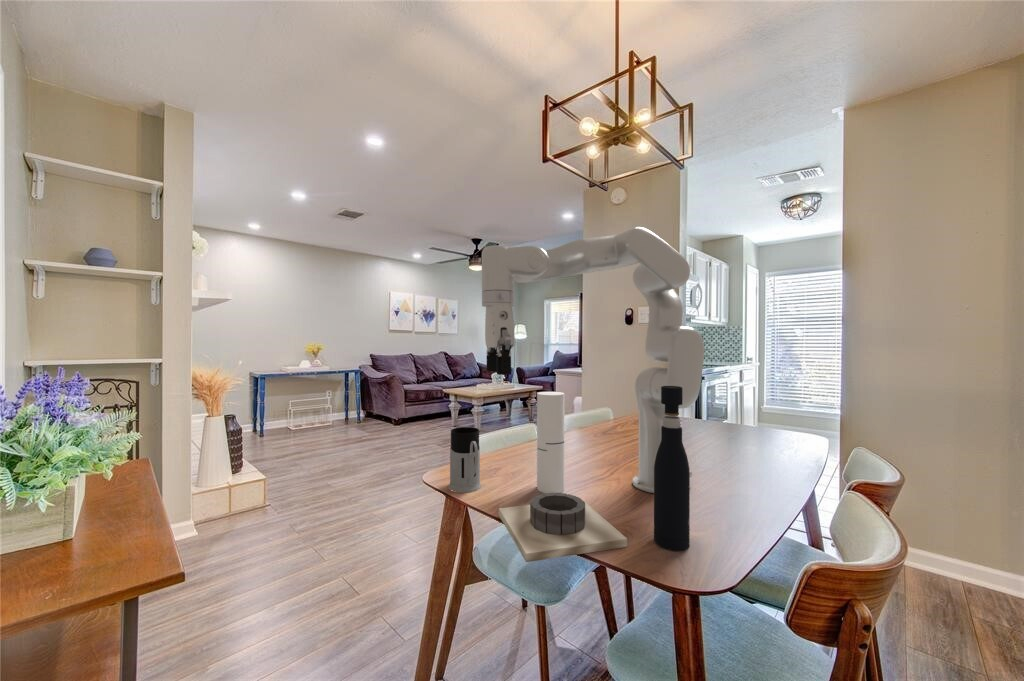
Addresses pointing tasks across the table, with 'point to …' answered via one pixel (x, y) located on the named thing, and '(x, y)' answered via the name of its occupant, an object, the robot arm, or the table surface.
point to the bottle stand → (559, 528)
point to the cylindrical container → (550, 442)
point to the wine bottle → (671, 478)
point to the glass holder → (464, 460)
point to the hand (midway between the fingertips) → (498, 372)
